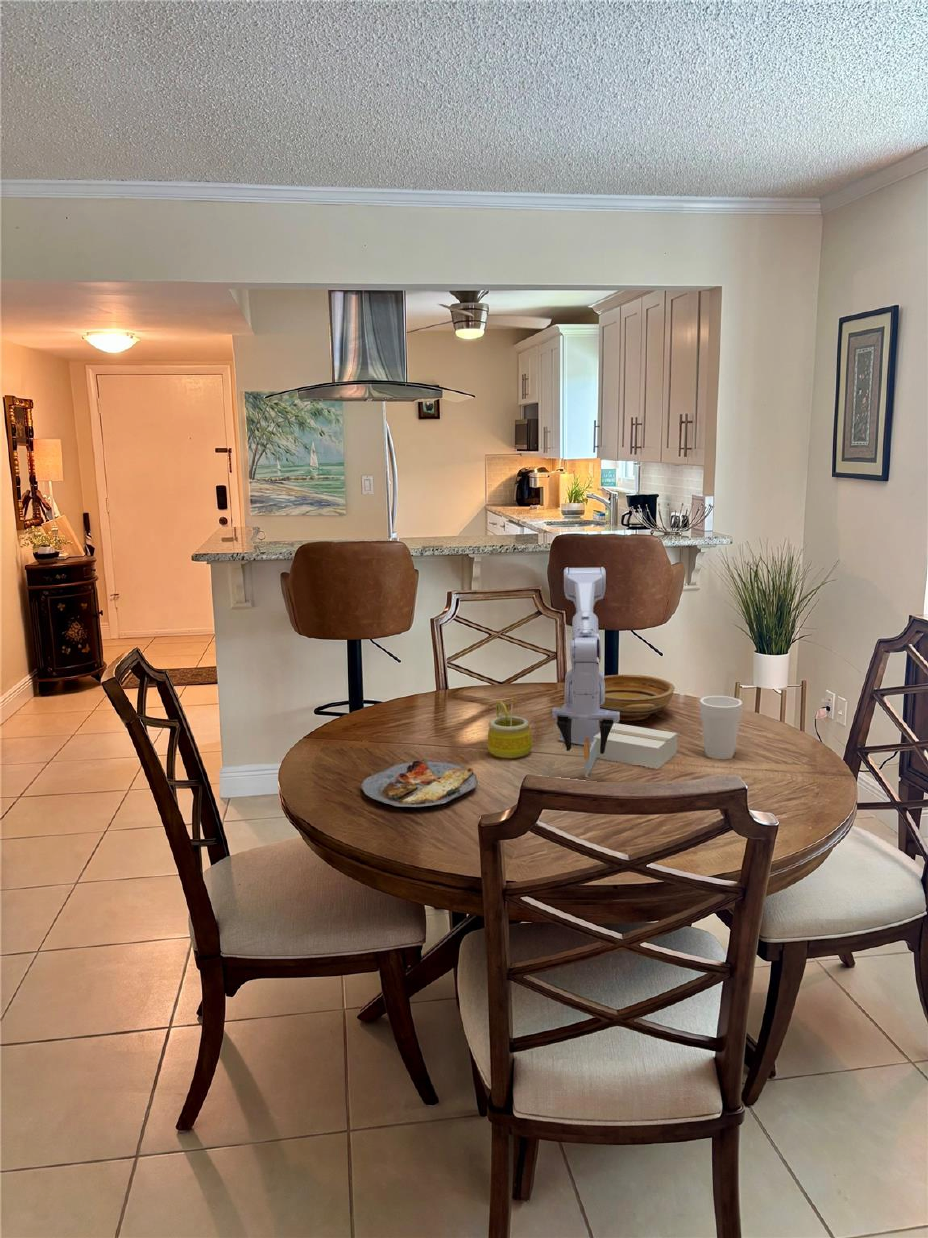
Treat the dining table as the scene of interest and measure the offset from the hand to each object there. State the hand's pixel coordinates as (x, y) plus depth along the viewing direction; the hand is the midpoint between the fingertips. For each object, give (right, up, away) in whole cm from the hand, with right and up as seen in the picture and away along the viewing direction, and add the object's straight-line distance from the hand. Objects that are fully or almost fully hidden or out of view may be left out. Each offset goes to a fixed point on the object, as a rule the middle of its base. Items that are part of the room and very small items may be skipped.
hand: (585, 750), depth 195 cm
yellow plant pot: (-15, -3, +20) cm, 25 cm away
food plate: (-36, -9, -2) cm, 37 cm away
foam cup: (+33, -3, +13) cm, 36 cm away
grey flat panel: (+2, -5, +6) cm, 8 cm away
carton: (+14, -3, +15) cm, 20 cm away
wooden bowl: (+18, +3, +46) cm, 49 cm away
